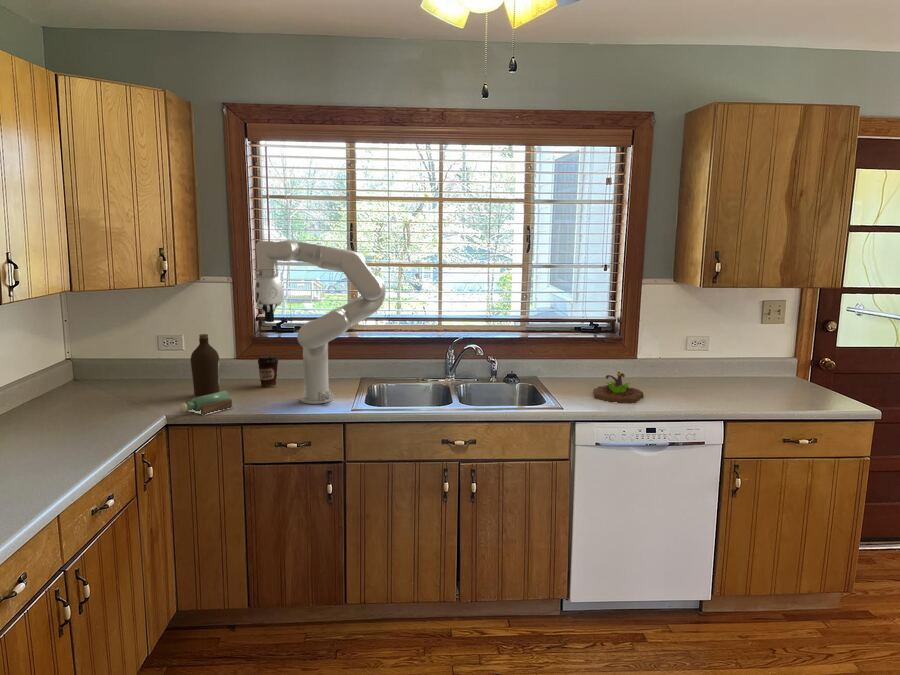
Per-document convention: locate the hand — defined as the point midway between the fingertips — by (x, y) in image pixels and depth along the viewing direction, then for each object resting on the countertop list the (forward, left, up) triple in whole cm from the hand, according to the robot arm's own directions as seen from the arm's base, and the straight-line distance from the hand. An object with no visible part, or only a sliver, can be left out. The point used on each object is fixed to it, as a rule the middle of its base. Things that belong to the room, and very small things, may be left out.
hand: (269, 321), depth 247 cm
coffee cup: (+18, -13, -31) cm, 38 cm away
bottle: (+8, +15, -28) cm, 33 cm away
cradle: (+8, +23, -31) cm, 39 cm away
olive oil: (+25, +12, -31) cm, 42 cm away
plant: (-108, -86, -32) cm, 142 cm away
